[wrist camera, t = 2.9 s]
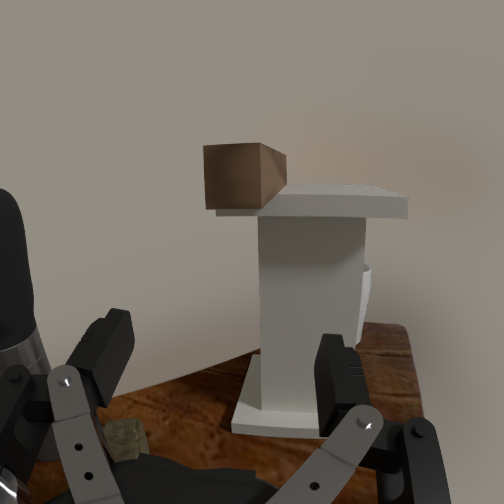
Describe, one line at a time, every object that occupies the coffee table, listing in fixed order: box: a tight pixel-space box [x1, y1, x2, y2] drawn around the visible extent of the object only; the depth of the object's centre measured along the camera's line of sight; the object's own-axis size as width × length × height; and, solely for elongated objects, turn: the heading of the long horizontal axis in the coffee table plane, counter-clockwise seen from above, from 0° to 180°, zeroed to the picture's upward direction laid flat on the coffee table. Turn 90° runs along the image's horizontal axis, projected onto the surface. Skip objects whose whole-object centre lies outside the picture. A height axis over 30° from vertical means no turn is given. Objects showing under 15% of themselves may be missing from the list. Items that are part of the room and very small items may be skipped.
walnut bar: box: [203, 143, 287, 210], centre depth 31 cm, size 4×25×4 cm, turn 171°
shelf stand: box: [216, 184, 408, 439], centre depth 40 cm, size 18×17×30 cm
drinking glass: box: [355, 264, 372, 345], centre depth 58 cm, size 7×7×15 cm
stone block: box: [101, 418, 149, 462], centre depth 29 cm, size 6×12×5 cm, turn 17°
